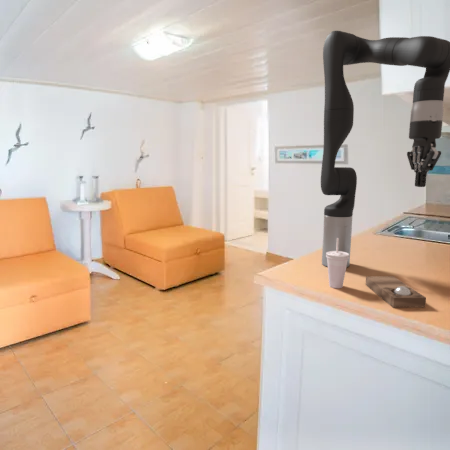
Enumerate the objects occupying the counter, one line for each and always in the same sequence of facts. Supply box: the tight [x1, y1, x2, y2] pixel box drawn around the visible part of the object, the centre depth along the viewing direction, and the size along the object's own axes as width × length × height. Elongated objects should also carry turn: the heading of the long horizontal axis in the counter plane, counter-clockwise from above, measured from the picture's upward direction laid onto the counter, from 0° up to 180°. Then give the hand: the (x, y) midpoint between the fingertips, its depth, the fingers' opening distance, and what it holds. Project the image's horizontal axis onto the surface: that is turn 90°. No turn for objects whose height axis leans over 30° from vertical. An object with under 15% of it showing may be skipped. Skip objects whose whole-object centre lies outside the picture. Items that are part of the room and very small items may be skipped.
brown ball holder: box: [364, 275, 427, 309], centre depth 100 cm, size 17×8×2 cm, turn 2°
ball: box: [394, 286, 411, 296], centre depth 95 cm, size 4×4×4 cm
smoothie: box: [326, 238, 349, 289], centre depth 106 cm, size 6×6×14 cm
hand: (420, 186), depth 101 cm, fingers closed
